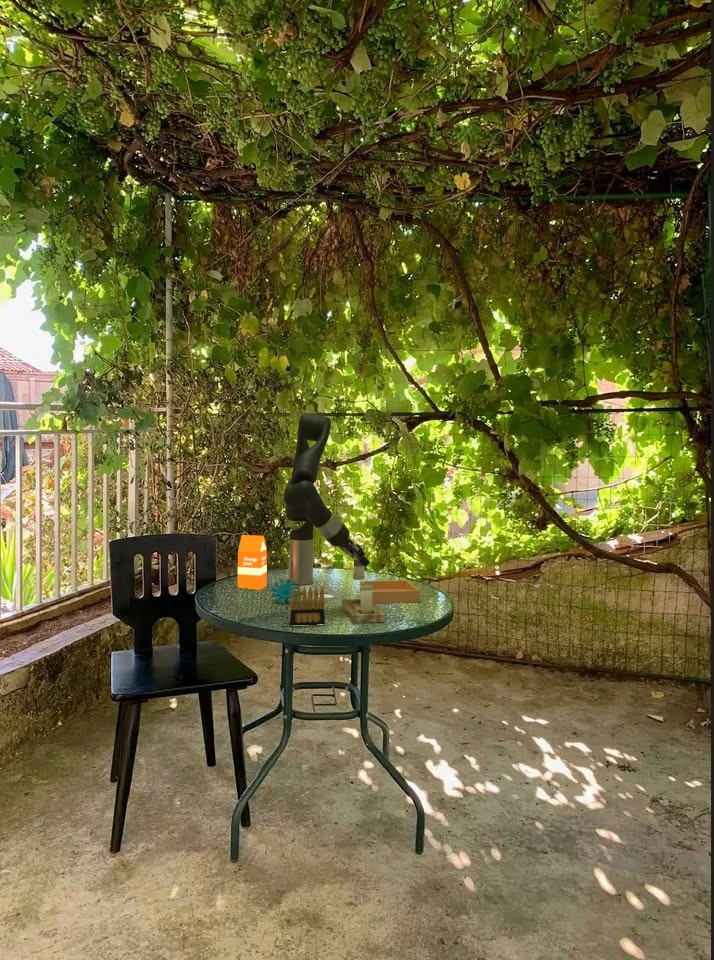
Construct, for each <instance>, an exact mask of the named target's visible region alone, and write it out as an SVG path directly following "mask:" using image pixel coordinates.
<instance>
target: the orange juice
mask: <svg viewBox="0 0 714 960" xmlns="http://www.w3.org/2000/svg"><path fill="white" fill-rule="evenodd" d="M267 551H268V549H267V544H266V540H265V536H264V535H250V534H241V536H240V541H239V547H238V550H237V588H238V587H239V588H248V589H255V590H261V589H263V588H264V587H266V586H267V579H268V578H267V576H268V574H267V572H268V569H267V567H268V565H267V564H268V562H267V560H268V559H267V558H268V556H267V555H268V553H267ZM266 588H267V587H266ZM264 589H265V588H264ZM264 589H263V590H264Z"/></svg>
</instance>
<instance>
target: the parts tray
mask: <svg viewBox="0 0 714 960" xmlns="http://www.w3.org/2000/svg"><path fill="white" fill-rule="evenodd" d="M361 584H372V585H373V589H372V600H373V601H374V603H375V604H376V605H377V604H400V603H399V602H411V603H421V590H420V589H419V588H418V587H416V585H414V584H413V583H412V582H410V581H409V580H408V579H399V580H398V579H397V580H395V579H393V580H391V579H390V580H388V579H387V580H359V586H360V585H361ZM359 593H360V594H361V589H360V588H359Z"/></svg>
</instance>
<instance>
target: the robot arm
mask: <svg viewBox="0 0 714 960" xmlns="http://www.w3.org/2000/svg"><path fill="white" fill-rule="evenodd" d="M331 429H332V420H331V418H330V417H328V416H325V415H321V414H315V413H311V412H303V413H302V414H301V415H300V417H299V421H298V426H297V437H296V439H297V440H296V449H295V455H294V460H293V465H292V472H291V477H290V480H289V482H288V483H286V487H285V489H284V492H283V500H284V503H285V504H286V505H285V517H286V519H287V521H291V522H304V523H303V525H301V526H299V527H298V528H295V529H292V530H291V531H290V532H289V547H288V548H289V557H288V579H290V582H289V583H288V584H291V583H292V582H293V581H295V582H296V584H299V586H300V585H301V586H302V585H305V586H306V585H311V584H313V583H314V529H316V530H317V531H318V533H319V534H320V535H321V536H322V537H323V538H324V540H326V541H327V542H328V543H329V544H330V545H331V546H332V547H335V548H336V547H338V549H340V550H341V551H342V552H343V553H344V554H345V555H346V556H349V557H350V558H352V559H353V560H354V556H355V557H356V558H357V559H358V560H359V561H360V562H361V563H362V564H363V565H364V568H365V567H368V565H369V564H370V560H369V559H368V558H367V557H366V552H365V553H364V551H363V550H362V548H361V547H360V546H359V545H360V544H359V543H355V541H354V540H353V539H352V538H350V537H349V536H350V534H351V531H350V530H349V528H348V527H347V526H346V525H345V524H344V522H342V521H341V519H340V518H339V517H337V515H335V514H334V513H333V512H332V511H331V510H330V509H329V508H328V507H327V506H326V505H325V503H324V502H323V499H322V497H321V495H320V494H319V491H318V489H317V487H316V486H315V482H316V481H317V480H318V479H317V477H318V472H319V468H320V467H319V464H320V461H321V459H322V456H323V453H324V451H325V448H326V446H327V444H328V443H327V442H328V440H329V437H330V434H331ZM309 441H311V442H315V443H314V444H313V445H312V446H310V445H309ZM364 555H365V556H364Z"/></svg>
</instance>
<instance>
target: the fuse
mask: <svg viewBox="0 0 714 960" xmlns="http://www.w3.org/2000/svg"><path fill="white" fill-rule="evenodd" d="M360 589H361V593H360V599H361V611H360V614H372V589H373V585H372V584H361V585H360V584H359V590H360Z"/></svg>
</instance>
